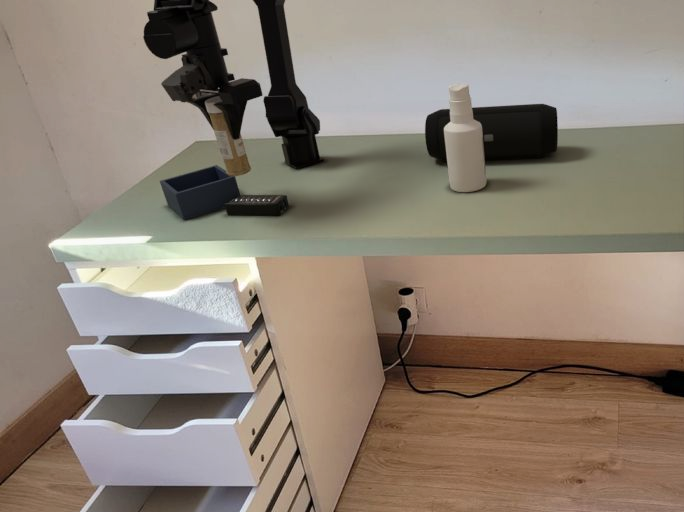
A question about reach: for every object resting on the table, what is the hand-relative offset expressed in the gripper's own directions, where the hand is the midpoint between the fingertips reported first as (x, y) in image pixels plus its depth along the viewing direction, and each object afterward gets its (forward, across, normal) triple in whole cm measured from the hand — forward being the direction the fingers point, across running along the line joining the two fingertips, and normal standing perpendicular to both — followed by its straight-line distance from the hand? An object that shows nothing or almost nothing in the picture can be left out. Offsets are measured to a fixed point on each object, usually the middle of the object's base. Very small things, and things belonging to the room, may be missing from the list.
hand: (228, 137), depth 128 cm
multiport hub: (+13, +5, -1) cm, 14 cm away
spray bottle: (+13, +34, +25) cm, 44 cm away
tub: (+13, -9, -3) cm, 16 cm away
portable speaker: (+13, +30, +40) cm, 51 cm away
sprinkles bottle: (+7, 0, 0) cm, 7 cm away
